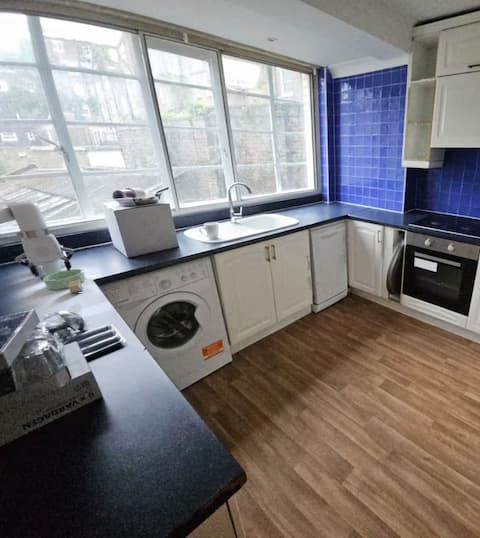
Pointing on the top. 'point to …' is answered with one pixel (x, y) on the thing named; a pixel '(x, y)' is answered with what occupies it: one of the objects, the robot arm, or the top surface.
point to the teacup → (47, 268)
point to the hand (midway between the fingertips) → (53, 272)
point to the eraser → (75, 287)
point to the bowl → (63, 278)
